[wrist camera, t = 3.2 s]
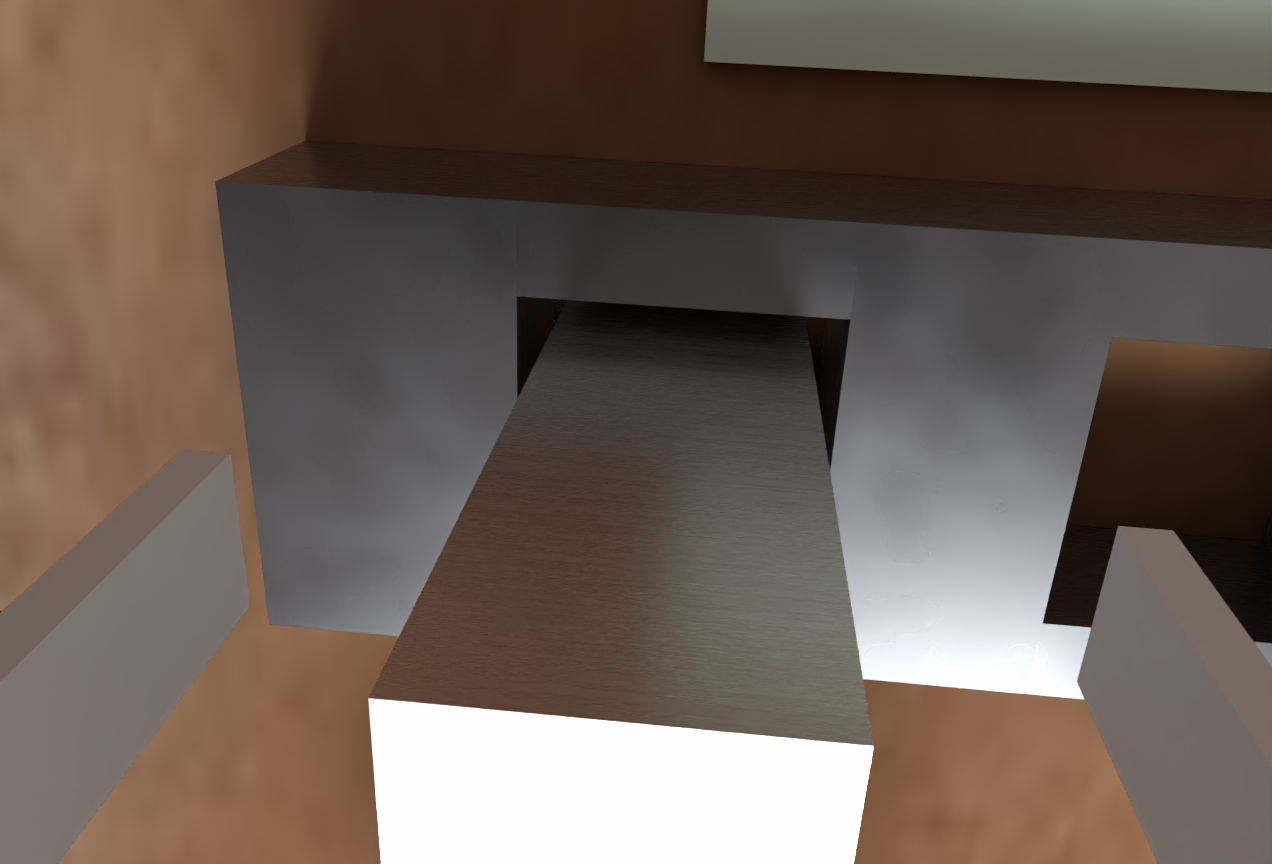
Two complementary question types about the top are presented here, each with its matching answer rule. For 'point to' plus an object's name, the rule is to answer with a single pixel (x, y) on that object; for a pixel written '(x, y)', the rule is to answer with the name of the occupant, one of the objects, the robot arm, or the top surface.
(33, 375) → the top surface
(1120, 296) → the grey hollow block
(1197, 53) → the green pad
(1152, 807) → the robot arm
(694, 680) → the steel peg
